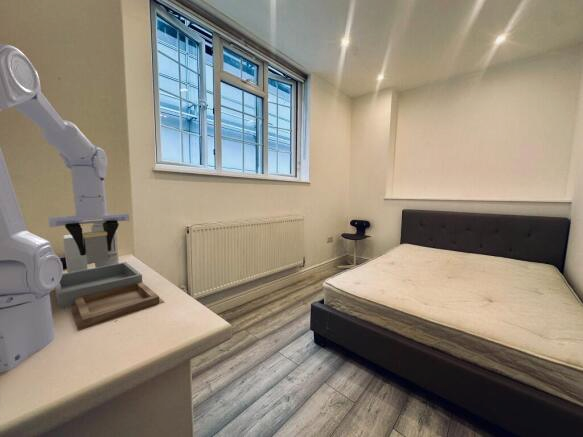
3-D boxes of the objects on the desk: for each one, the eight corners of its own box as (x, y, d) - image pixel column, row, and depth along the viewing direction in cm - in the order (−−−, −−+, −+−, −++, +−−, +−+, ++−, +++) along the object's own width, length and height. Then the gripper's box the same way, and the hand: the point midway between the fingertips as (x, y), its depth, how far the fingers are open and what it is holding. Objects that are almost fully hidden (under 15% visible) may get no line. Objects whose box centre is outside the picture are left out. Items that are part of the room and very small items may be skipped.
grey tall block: (106, 257, 60) (103, 230, 59) (110, 260, 57) (106, 231, 56) (84, 261, 57) (80, 233, 56) (86, 264, 54) (82, 234, 53)
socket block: (165, 306, 51) (164, 296, 50) (78, 335, 40) (77, 323, 40) (144, 288, 60) (143, 279, 60) (69, 308, 50) (68, 297, 49)
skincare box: (67, 275, 68) (62, 235, 67) (86, 271, 71) (82, 233, 70) (68, 281, 64) (63, 238, 63) (88, 277, 67) (84, 236, 66)
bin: (143, 290, 59) (141, 274, 58) (59, 312, 48) (57, 294, 47) (126, 275, 69) (125, 262, 68) (54, 291, 58) (52, 275, 57)
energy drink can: (109, 270, 72) (104, 222, 70) (90, 270, 72) (85, 222, 71) (123, 264, 78) (119, 220, 76) (105, 264, 78) (101, 220, 77)
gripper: (122, 196, 63) (126, 244, 65) (45, 197, 53) (52, 255, 54) (129, 196, 59) (133, 249, 60) (46, 197, 48) (54, 261, 50)
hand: (95, 252), depth 57 cm, fingers closed on grey tall block, 4 cm apart
